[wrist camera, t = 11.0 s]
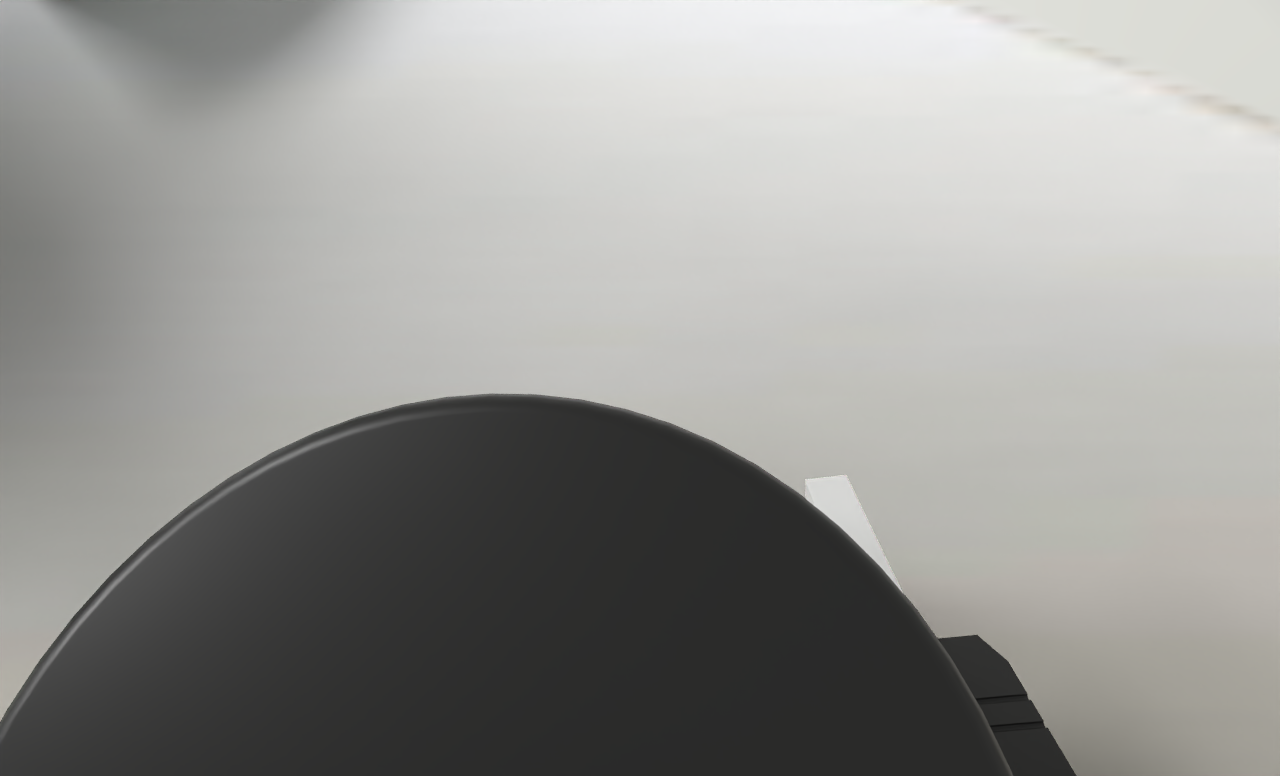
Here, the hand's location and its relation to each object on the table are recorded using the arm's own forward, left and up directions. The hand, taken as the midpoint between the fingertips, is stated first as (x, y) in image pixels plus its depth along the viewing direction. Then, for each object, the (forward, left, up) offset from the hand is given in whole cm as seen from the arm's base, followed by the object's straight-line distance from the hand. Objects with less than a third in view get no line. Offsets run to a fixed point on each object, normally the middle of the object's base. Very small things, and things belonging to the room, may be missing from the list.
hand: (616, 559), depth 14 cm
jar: (0, -3, -4) cm, 5 cm away
